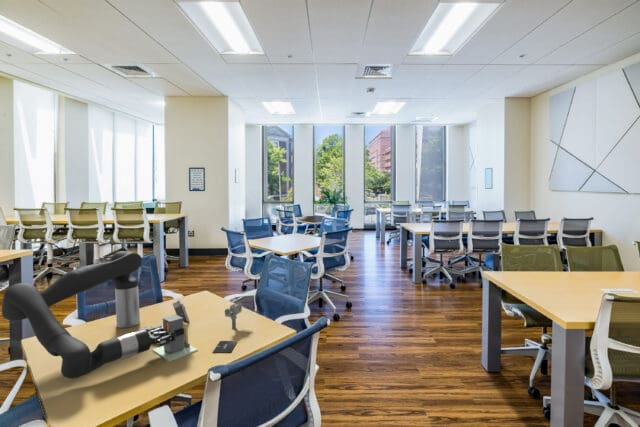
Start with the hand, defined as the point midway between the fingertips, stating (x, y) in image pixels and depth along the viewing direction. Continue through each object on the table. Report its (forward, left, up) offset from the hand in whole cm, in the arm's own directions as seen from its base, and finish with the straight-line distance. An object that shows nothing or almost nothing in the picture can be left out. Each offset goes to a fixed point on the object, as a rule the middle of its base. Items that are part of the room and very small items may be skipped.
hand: (179, 328), depth 133 cm
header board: (0, -2, -8) cm, 8 cm away
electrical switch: (-28, +15, -8) cm, 33 cm away
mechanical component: (-1, +25, -8) cm, 26 cm away
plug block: (0, -3, -7) cm, 7 cm away
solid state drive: (+12, +12, -8) cm, 19 cm away
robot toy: (-18, -2, -8) cm, 20 cm away
